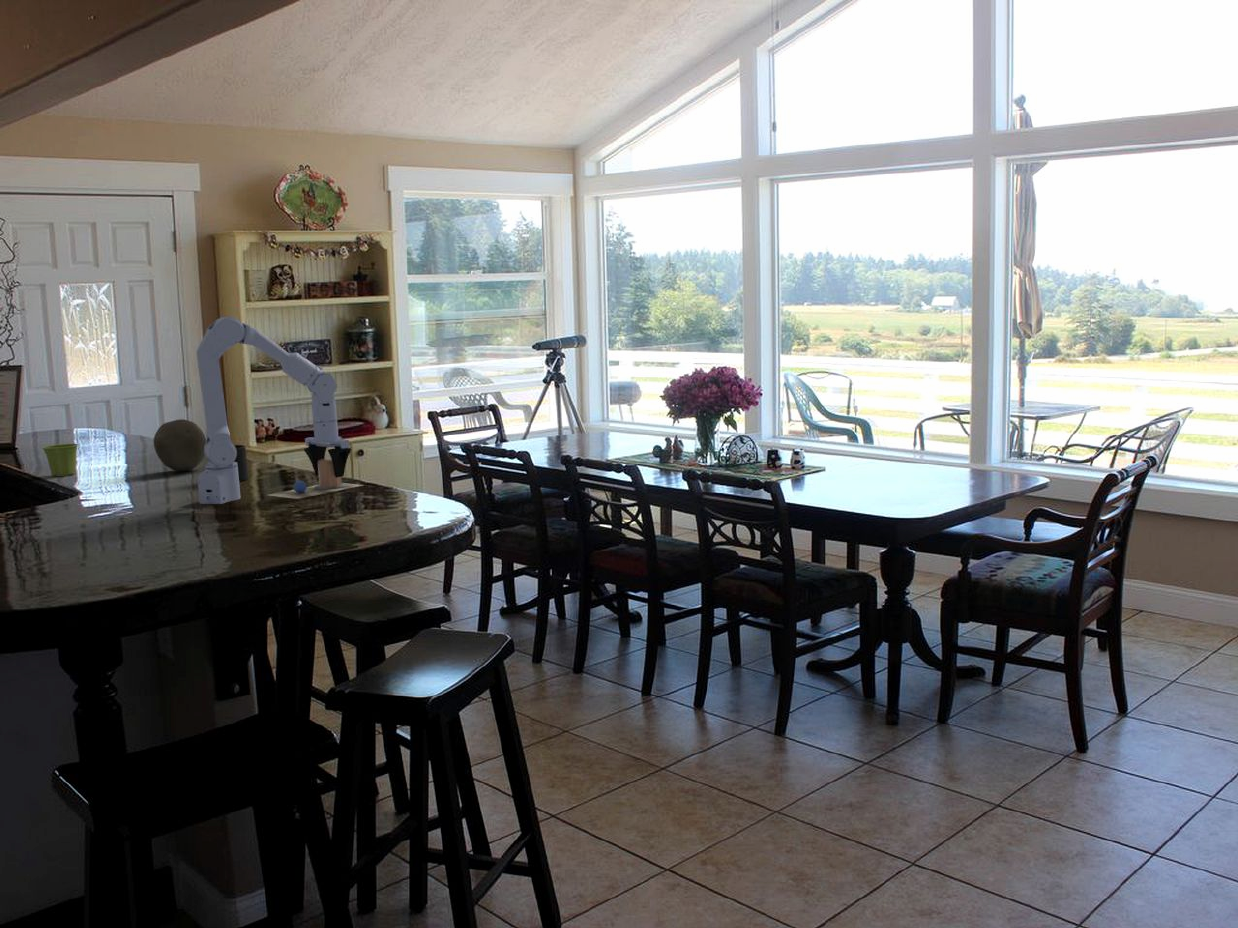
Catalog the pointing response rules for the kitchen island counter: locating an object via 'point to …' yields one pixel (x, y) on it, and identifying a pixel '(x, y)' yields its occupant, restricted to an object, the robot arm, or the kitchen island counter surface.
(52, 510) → the kitchen island counter surface
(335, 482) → the wooden block
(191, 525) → the kitchen island counter surface
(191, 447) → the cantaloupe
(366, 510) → the kitchen island counter surface
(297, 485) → the marble
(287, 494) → the board
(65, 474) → the plant pot
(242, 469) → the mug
